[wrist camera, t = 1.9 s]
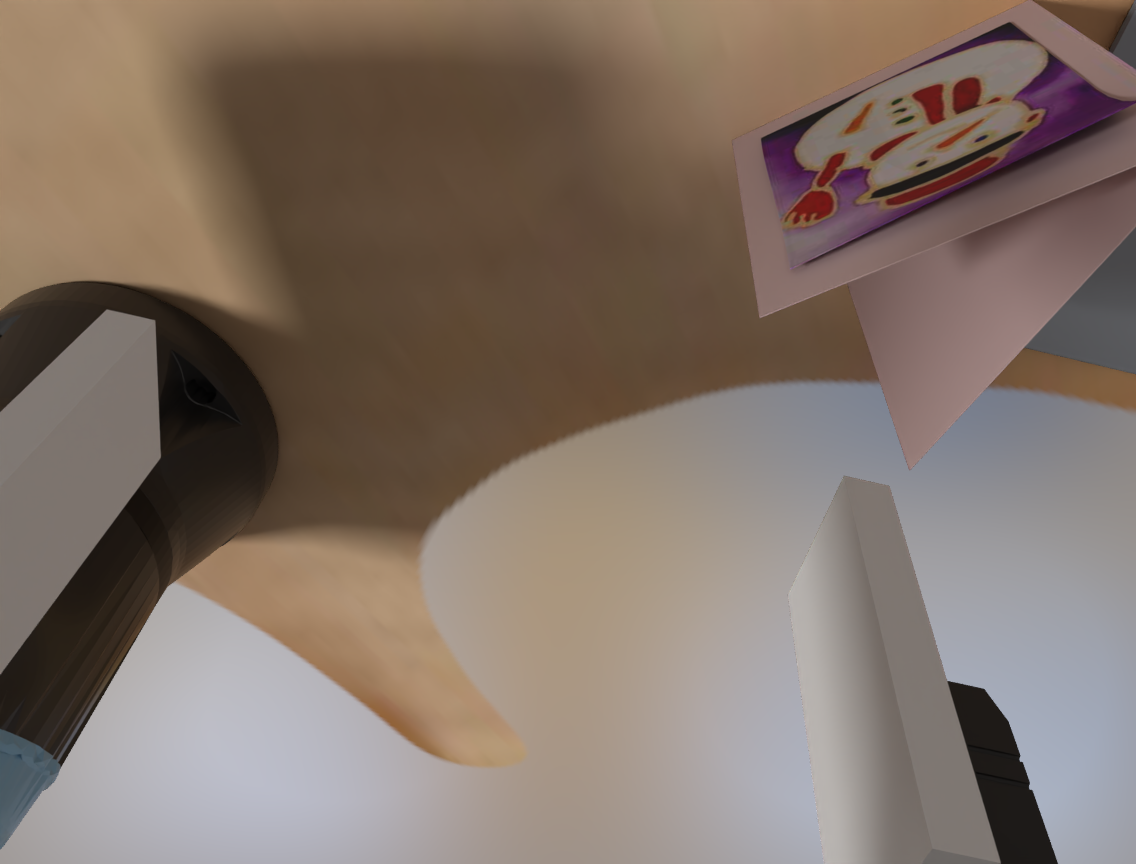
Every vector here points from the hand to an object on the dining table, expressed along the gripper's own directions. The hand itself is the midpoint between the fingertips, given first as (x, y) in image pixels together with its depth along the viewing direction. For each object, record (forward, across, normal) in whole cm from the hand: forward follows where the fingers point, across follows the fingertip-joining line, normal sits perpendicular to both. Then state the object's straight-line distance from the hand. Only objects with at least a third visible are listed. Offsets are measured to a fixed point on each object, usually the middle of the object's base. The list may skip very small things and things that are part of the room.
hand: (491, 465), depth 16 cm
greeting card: (+26, -12, 0) cm, 29 cm away
